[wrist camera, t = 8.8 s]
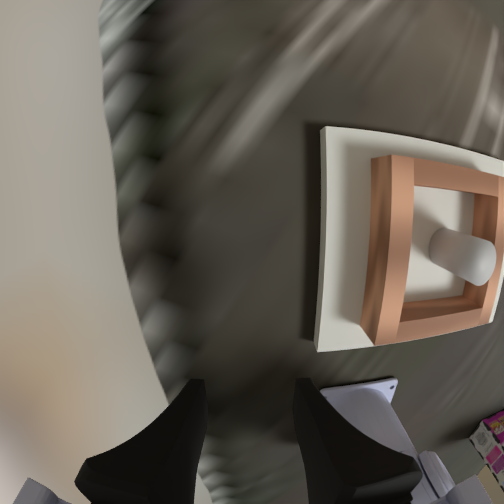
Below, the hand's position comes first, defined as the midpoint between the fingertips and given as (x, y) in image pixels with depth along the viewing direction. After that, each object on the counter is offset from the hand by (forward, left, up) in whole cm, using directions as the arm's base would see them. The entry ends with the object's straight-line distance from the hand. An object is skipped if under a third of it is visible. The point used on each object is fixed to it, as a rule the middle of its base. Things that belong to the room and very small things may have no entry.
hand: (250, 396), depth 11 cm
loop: (+5, -14, -8) cm, 17 cm away
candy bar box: (-27, -42, -10) cm, 51 cm away
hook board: (+5, -15, -9) cm, 18 cm away
